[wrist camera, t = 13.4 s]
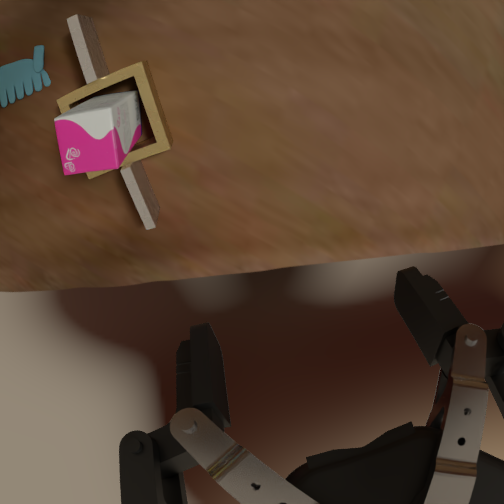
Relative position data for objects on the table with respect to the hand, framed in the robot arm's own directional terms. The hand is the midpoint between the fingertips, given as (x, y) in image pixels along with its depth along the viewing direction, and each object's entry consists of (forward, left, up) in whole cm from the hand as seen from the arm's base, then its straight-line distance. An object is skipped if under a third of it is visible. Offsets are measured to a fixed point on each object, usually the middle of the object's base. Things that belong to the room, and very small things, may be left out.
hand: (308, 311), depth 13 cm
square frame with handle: (-6, -13, -29) cm, 32 cm away
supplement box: (-6, -13, -29) cm, 33 cm away
